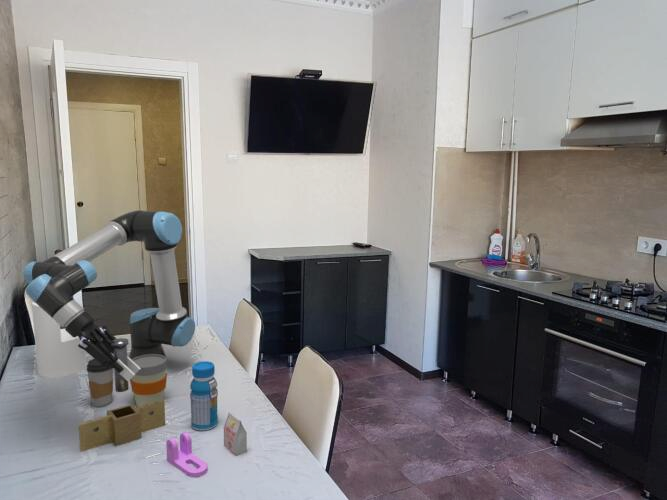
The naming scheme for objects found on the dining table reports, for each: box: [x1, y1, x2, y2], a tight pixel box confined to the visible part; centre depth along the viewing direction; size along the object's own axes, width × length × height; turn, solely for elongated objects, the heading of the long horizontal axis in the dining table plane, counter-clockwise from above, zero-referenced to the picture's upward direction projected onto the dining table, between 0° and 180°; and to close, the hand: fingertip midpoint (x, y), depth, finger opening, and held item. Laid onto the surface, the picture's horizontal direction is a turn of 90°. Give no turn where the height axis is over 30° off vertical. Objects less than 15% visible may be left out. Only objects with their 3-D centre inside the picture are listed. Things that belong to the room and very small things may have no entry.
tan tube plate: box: [78, 399, 166, 452], centre depth 149 cm, size 24×7×8 cm, turn 130°
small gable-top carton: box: [223, 412, 248, 457], centre depth 143 cm, size 4×7×10 cm, turn 40°
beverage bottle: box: [189, 360, 219, 431], centre depth 156 cm, size 8×8×20 cm
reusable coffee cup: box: [129, 354, 168, 407], centre depth 171 cm, size 13×13×15 cm
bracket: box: [165, 431, 209, 478], centre depth 135 cm, size 13×6×7 cm, turn 49°
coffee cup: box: [86, 358, 114, 408], centre depth 169 cm, size 8×8×15 cm
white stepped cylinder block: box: [31, 301, 88, 378], centre depth 196 cm, size 17×17×28 cm
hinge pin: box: [111, 337, 130, 393], centre depth 146 cm, size 5×5×15 cm
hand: (134, 374), depth 146 cm, fingers closed on hinge pin, 3 cm apart
